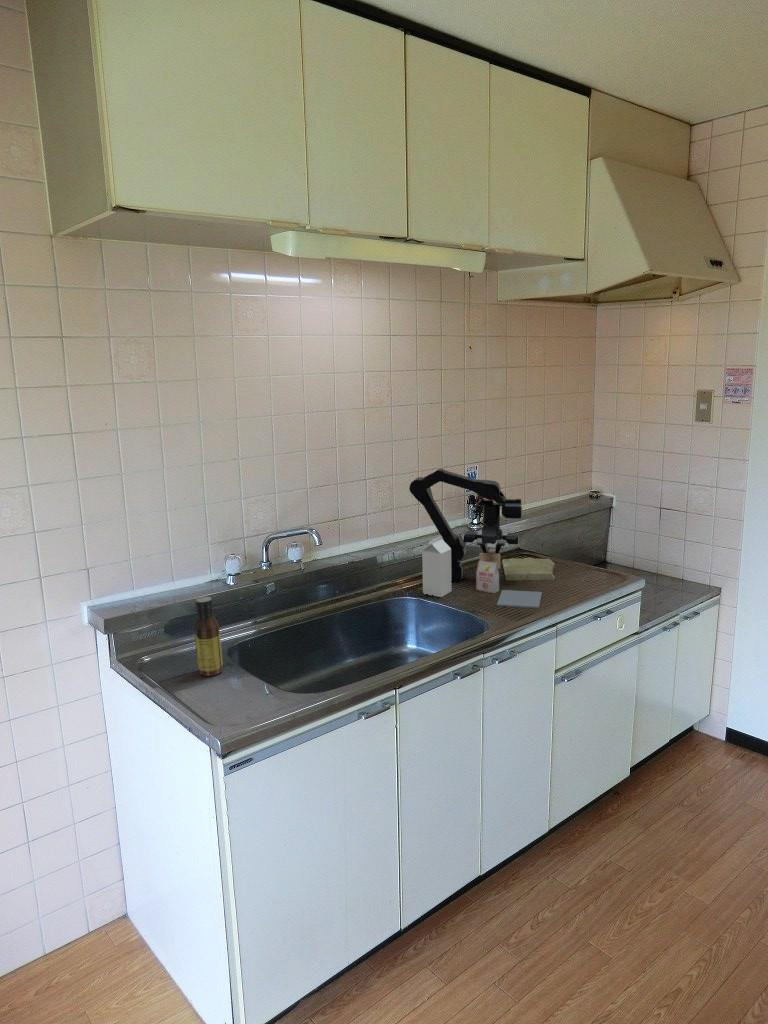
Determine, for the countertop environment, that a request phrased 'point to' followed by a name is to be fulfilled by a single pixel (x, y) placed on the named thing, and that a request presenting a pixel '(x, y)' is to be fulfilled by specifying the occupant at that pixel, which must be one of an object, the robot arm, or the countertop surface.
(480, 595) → the countertop surface
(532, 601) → the tool mat
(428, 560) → the milk carton
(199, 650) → the sauce bottle
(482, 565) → the paper bag
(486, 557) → the wooden t-shaped block
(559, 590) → the countertop surface
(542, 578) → the decorative tile
